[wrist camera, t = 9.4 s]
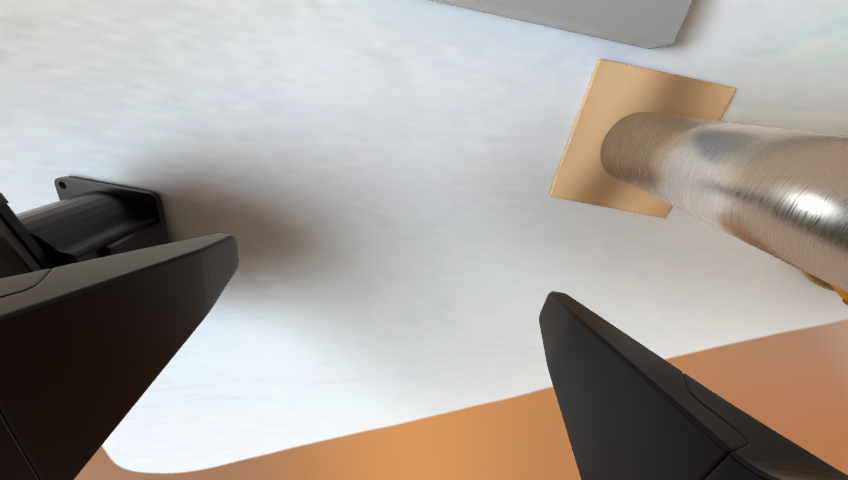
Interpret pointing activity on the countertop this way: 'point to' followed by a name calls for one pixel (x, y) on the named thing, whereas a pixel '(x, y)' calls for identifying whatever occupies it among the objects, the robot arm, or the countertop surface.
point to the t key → (744, 183)
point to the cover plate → (595, 17)
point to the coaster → (610, 102)
